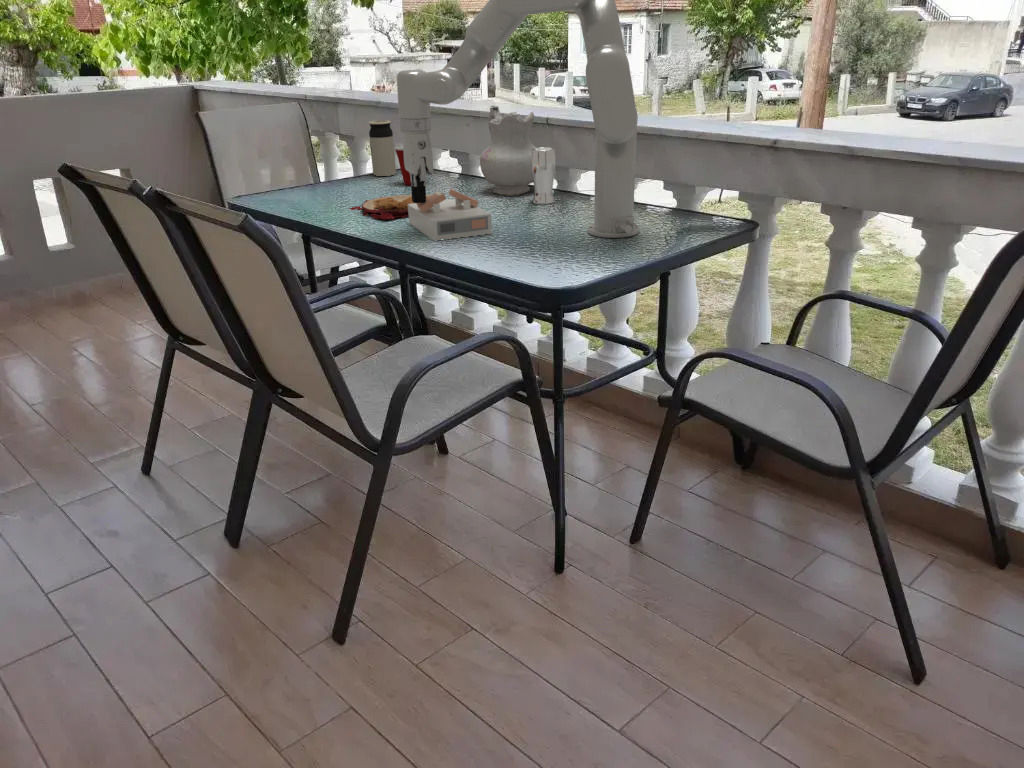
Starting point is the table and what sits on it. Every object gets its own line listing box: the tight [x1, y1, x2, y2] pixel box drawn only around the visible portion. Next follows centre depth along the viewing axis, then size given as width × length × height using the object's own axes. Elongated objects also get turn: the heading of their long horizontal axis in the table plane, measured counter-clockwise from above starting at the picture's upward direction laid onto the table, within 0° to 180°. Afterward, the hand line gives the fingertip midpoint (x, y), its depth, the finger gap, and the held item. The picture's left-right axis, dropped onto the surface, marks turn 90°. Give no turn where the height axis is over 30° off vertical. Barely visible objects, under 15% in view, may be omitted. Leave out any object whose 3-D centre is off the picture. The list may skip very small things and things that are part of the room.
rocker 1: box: [417, 190, 447, 212], centre depth 198 cm, size 5×7×2 cm
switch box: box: [408, 197, 493, 241], centre depth 201 cm, size 22×15×7 cm
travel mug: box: [368, 120, 397, 177], centre depth 274 cm, size 8×8×18 cm
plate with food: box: [348, 193, 432, 221], centre depth 227 cm, size 25×26×4 cm
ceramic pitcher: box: [479, 105, 537, 197], centre depth 241 cm, size 22×20×25 cm
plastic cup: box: [394, 146, 412, 186], centre depth 258 cm, size 11×11×12 cm
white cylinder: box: [531, 146, 556, 205], centre depth 226 cm, size 7×7×15 cm
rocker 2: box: [448, 189, 479, 207], centre depth 201 cm, size 5×7×2 cm
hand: (419, 202), depth 197 cm, fingers closed
